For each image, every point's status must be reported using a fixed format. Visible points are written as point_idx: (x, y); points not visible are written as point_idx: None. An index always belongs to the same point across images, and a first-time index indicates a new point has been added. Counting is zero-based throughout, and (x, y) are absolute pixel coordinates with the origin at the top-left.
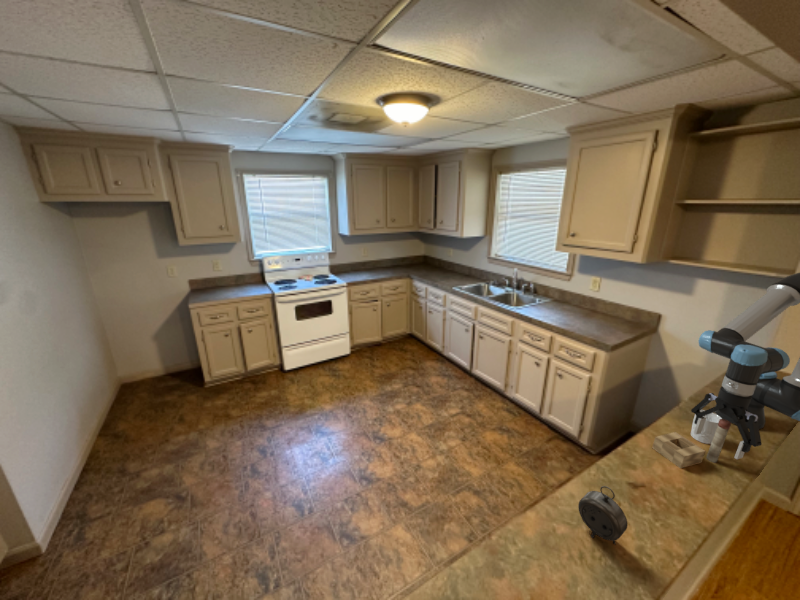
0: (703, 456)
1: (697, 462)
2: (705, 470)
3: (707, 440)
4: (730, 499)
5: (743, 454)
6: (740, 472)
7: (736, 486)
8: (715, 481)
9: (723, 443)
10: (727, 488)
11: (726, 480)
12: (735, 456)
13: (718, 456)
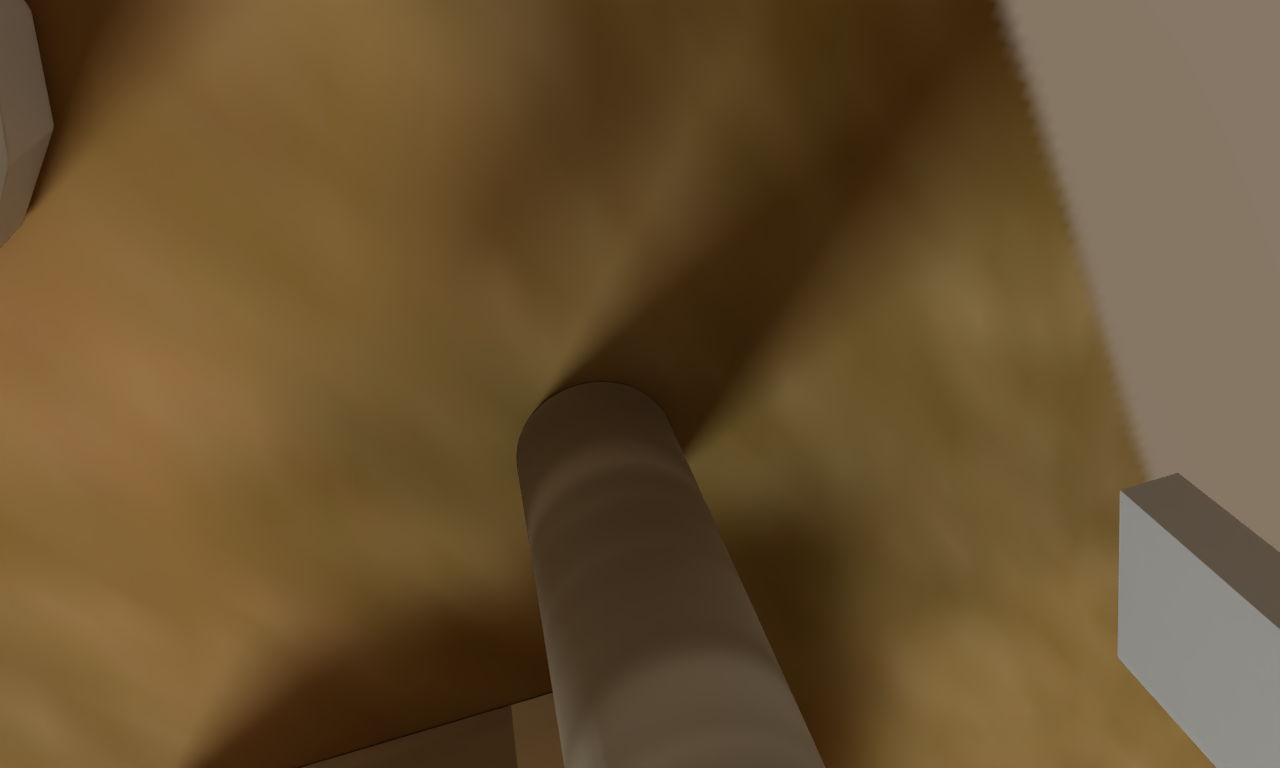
0: None
1: None
2: (809, 711)
3: (13, 177)
4: None
5: (1262, 553)
6: (943, 191)
7: None
8: (998, 719)
9: (823, 763)
10: None
11: (1020, 572)
12: (1162, 686)
13: (703, 500)
